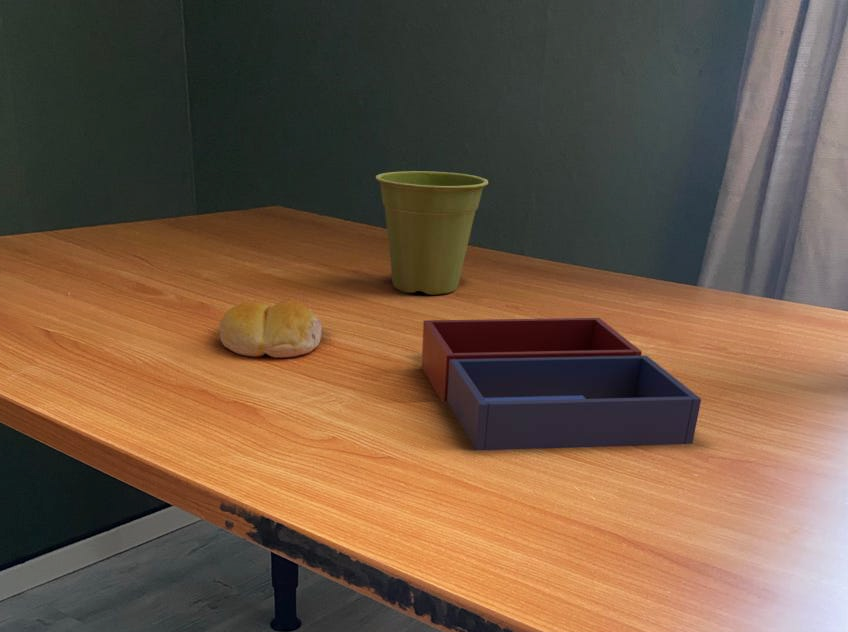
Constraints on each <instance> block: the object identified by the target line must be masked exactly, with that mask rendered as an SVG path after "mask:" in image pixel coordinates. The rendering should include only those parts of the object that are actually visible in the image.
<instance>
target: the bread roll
mask: <svg viewBox="0 0 848 632" xmlns="http://www.w3.org/2000/svg"><path fill="white" fill-rule="evenodd" d="M322 325H323V323H322V321H321V319H319V318H318V317H317V316H316V314H315V313H314V312H313V311H311V309H309V308H308V307H307V306H306V305H304V304H302V303H300V302H298V301H294V300H287V299H285V300H282V301H279V302H277V303H275V304H273V305H272V306H271V305H269V304H267V303H266V302H262V301H257V300H248V301H243V302H240V303H238V304H236V305H234V306H232V307H231V308H230V309H229V310H227V311H226V312H225V313H224V315H223V316H222V317H221V320H220V322H219V326H218V327H219V328H218V329H219V330H218V331H219V334H220V338H219V339H220V341H221V344H222V345H223V346H224V347H225V348H227V349H229V350H230V351H231V352H234V353H235V354H238V355H240V356H244V357H253V358H259V357H263V356H264V355H265V354H266V355H268V356H269V357H272V358H276V359H281V358H282V359H283V358H284V359H285V358H294V357H299V356H302V355H306V354H308V353H311V352H312V351H313V350H315V349H316V348H317V347H318V346H319V344H320V342H321V339H322V332H323V327H322Z"/></svg>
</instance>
